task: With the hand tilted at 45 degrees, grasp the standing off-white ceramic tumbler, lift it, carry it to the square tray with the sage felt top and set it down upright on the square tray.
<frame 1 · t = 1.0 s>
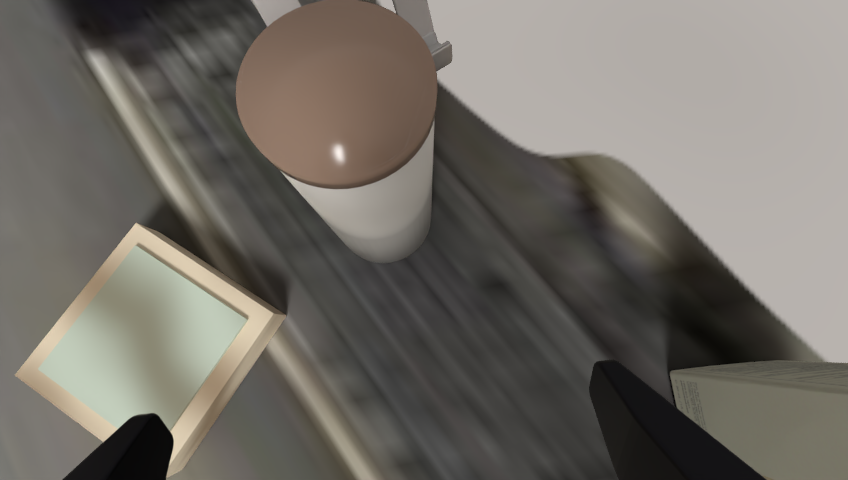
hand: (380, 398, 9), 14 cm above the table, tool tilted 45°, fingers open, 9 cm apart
tumbler: (384, 216, 24), on the table
square tray: (170, 343, 23), on the table
portable electronic device stand: (360, 61, 27), on the table
skincare box: (732, 404, 22), on the table
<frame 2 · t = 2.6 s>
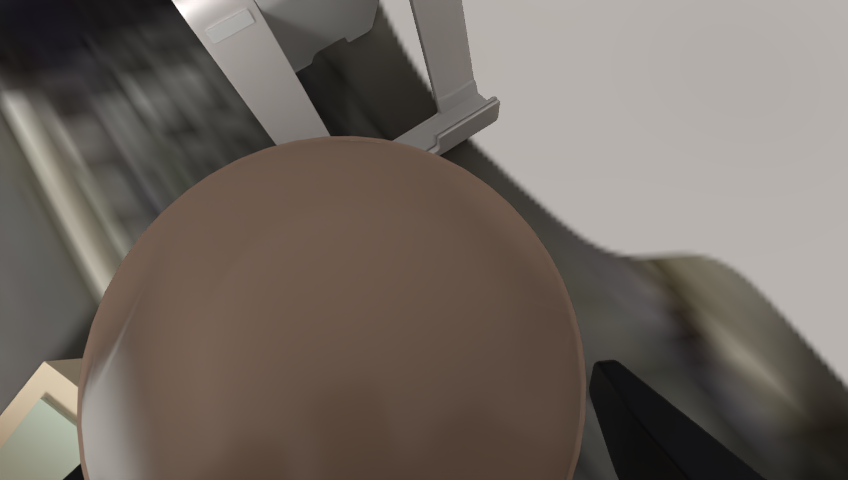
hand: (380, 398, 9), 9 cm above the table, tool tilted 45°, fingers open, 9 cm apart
tumbler: (401, 341, 17), on the table
portable electronic device stand: (371, 113, 20), on the table
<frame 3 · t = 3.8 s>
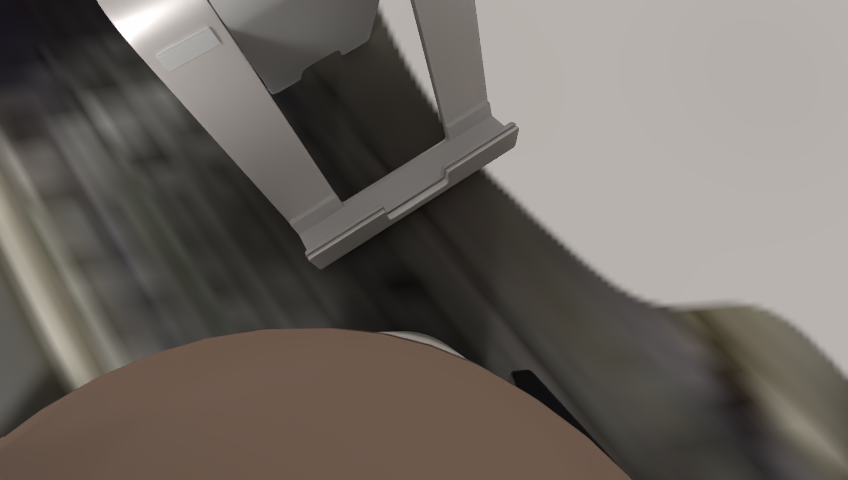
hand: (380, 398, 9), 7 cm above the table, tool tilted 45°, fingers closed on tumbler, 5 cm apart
tumbler: (403, 408, 15), on the table, touching gripper
portable electronic device stand: (368, 137, 17), on the table
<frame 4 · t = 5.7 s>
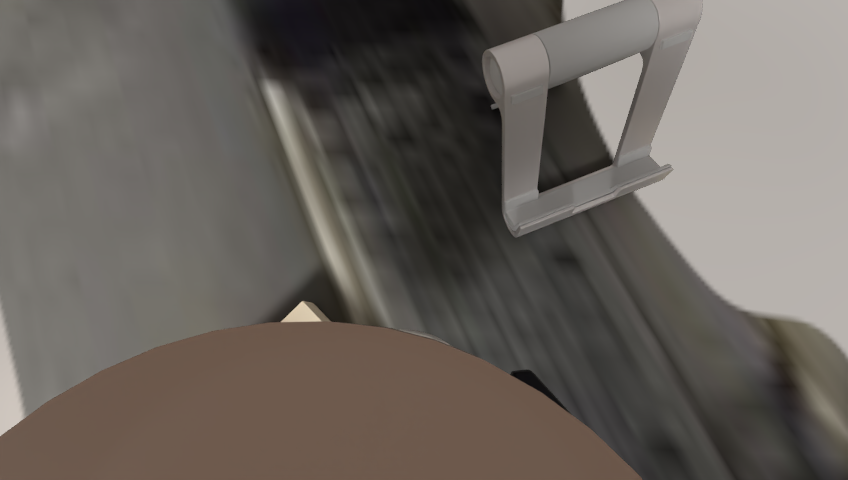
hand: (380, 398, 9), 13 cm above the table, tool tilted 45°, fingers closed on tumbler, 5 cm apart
tumbler: (404, 407, 15), point 7 cm above the table, touching gripper
square tray: (307, 430, 21), on the table
portable electronic device stand: (552, 152, 24), on the table
when the fingers open (10 cm above the table, at t = 7.5 s): tumbler stays where it is, resting on square tray.
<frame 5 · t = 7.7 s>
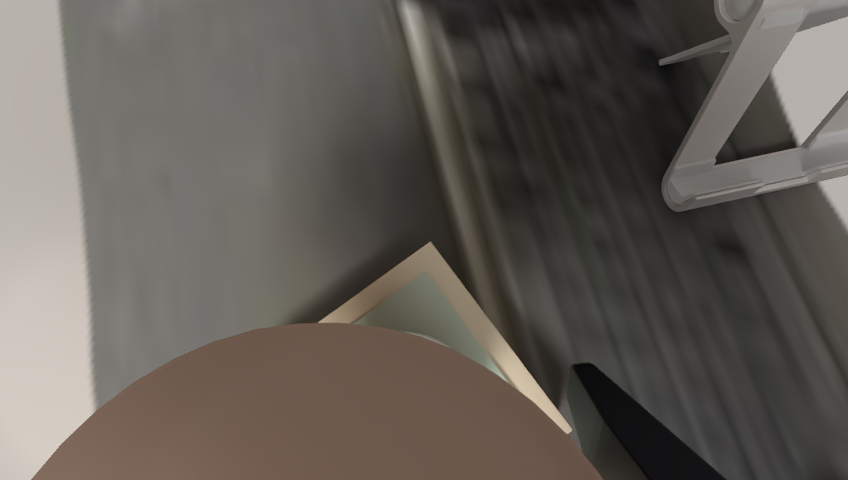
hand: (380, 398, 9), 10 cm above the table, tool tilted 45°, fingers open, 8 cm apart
tumbler: (406, 405, 16), point 2 cm above the table, touching square tray
square tray: (407, 394, 18), on the table
portable electronic device stand: (723, 125, 21), on the table
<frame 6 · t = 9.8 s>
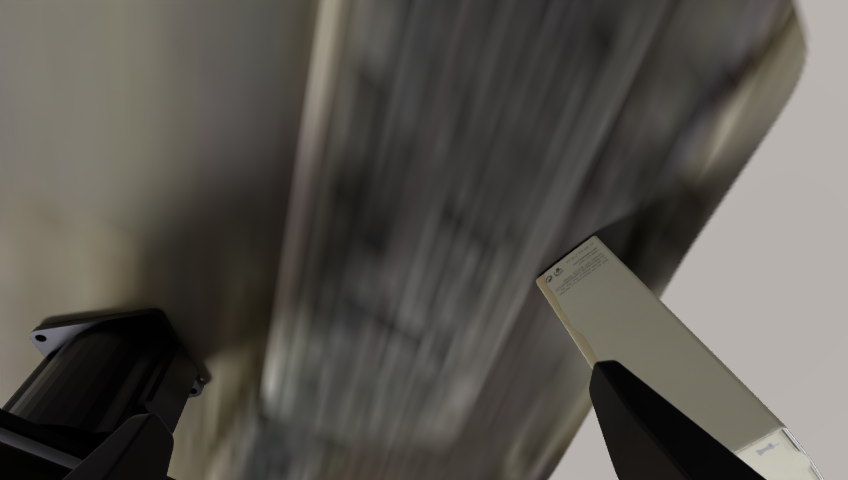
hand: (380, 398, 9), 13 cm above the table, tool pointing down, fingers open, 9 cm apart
skincare box: (588, 282, 25), on the table
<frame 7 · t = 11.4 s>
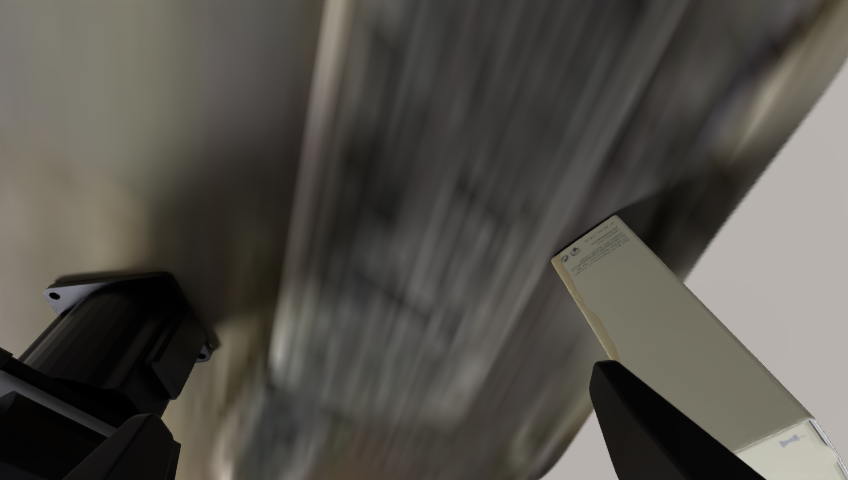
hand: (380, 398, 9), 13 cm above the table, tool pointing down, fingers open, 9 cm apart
skincare box: (607, 264, 24), on the table
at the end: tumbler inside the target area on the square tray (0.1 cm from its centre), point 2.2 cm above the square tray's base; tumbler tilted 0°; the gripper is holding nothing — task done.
